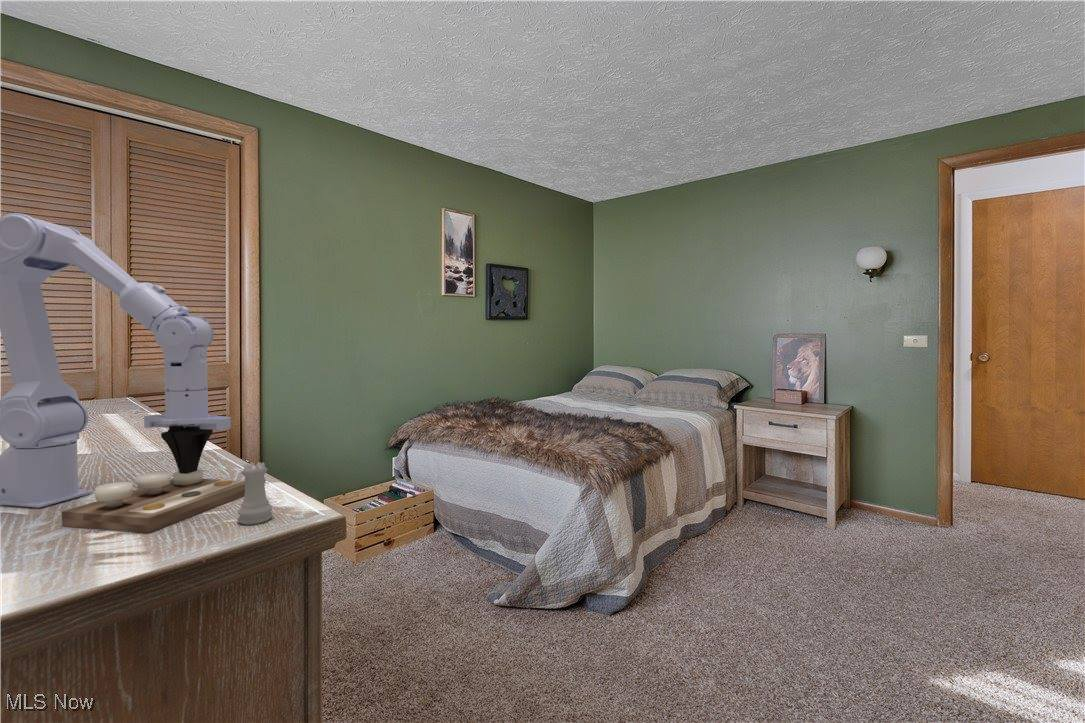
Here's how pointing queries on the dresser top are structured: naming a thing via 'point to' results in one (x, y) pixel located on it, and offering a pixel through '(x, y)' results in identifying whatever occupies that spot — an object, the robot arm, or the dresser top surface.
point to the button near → (113, 493)
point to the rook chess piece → (254, 496)
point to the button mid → (153, 481)
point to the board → (155, 507)
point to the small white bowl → (188, 478)
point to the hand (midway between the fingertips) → (188, 472)
